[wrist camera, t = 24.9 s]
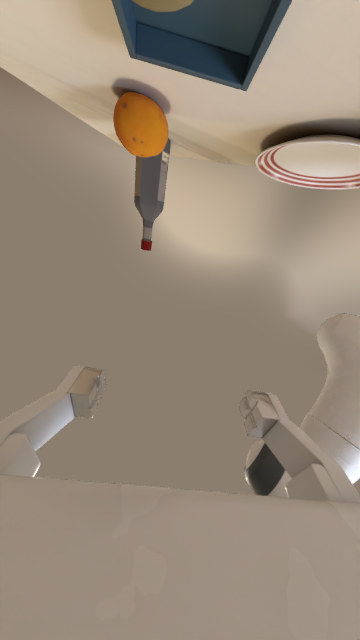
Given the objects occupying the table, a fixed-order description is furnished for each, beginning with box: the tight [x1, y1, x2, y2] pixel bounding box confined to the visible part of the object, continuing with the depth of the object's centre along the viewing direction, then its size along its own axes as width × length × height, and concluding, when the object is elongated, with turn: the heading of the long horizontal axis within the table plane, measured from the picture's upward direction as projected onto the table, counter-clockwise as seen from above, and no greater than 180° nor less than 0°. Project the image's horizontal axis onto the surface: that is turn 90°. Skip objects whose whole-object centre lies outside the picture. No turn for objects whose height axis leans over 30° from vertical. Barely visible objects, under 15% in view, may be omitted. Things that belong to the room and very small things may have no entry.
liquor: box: [134, 140, 170, 250], centre depth 57 cm, size 9×9×30 cm
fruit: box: [114, 92, 168, 157], centre depth 35 cm, size 10×10×8 cm
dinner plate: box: [255, 135, 360, 189], centre depth 38 cm, size 27×27×3 cm
